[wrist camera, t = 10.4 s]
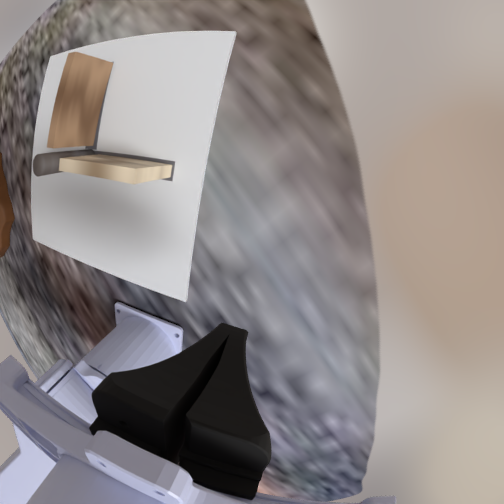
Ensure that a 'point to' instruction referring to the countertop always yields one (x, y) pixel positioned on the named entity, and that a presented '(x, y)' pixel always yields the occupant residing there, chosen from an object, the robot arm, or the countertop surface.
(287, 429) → the countertop surface
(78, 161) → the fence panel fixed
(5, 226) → the plant
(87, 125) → the brown wooden board
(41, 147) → the card
